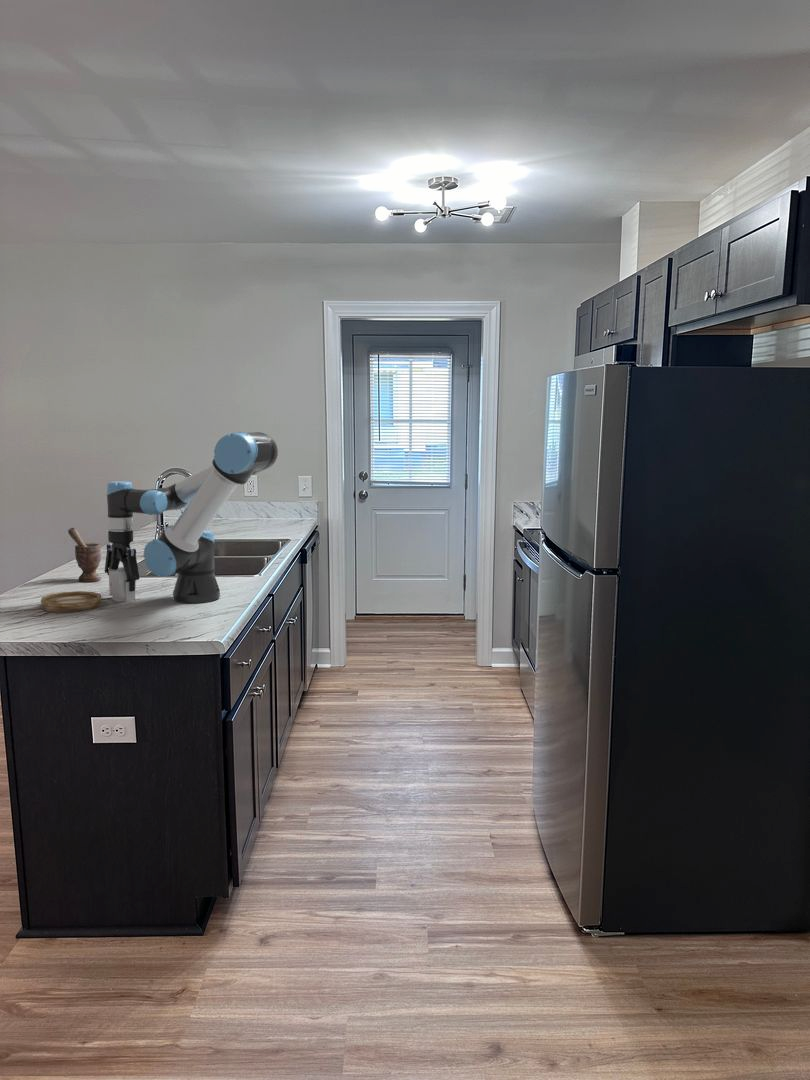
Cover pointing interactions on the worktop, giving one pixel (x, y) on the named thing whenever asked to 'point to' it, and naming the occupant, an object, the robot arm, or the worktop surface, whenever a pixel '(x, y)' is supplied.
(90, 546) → the mortar and pestle
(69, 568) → the worktop surface
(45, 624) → the worktop surface
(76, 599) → the round wooden tray
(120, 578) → the mug
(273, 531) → the worktop surface
